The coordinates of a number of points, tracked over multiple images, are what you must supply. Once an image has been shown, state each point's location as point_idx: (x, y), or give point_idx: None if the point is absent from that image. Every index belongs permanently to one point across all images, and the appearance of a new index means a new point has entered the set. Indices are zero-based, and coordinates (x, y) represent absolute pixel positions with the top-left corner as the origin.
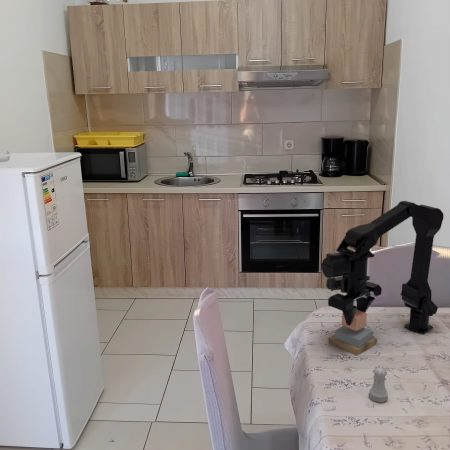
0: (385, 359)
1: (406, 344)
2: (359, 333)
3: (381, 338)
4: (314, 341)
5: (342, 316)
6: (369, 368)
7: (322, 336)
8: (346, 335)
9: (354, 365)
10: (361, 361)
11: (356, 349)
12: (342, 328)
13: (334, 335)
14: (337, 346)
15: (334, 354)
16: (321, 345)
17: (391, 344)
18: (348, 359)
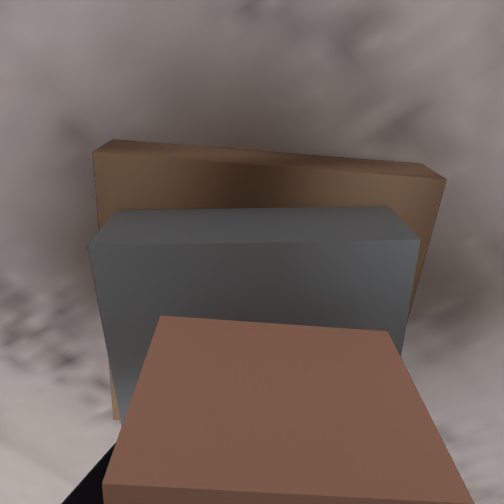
0: None
1: (472, 498)
2: None
3: (469, 384)
4: (20, 6)
5: (124, 422)
6: (66, 481)
7: (174, 5)
8: (113, 368)
9: (17, 422)
10: (92, 427)
11: (115, 411)
12: (212, 270)
13: (170, 172)
14: None
15: (7, 276)
16: (22, 115)
17: None
18: (41, 370)
